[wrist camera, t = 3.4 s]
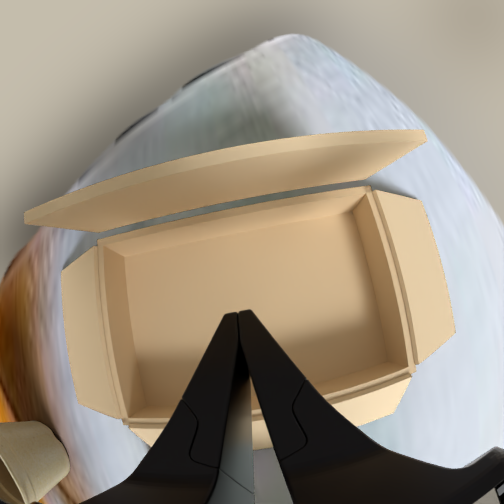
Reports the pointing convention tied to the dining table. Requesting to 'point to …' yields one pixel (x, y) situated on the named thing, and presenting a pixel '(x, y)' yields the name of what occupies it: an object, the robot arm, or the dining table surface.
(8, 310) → the dining table surface
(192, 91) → the dining table surface
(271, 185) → the flap
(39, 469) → the flower pot
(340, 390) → the carton
